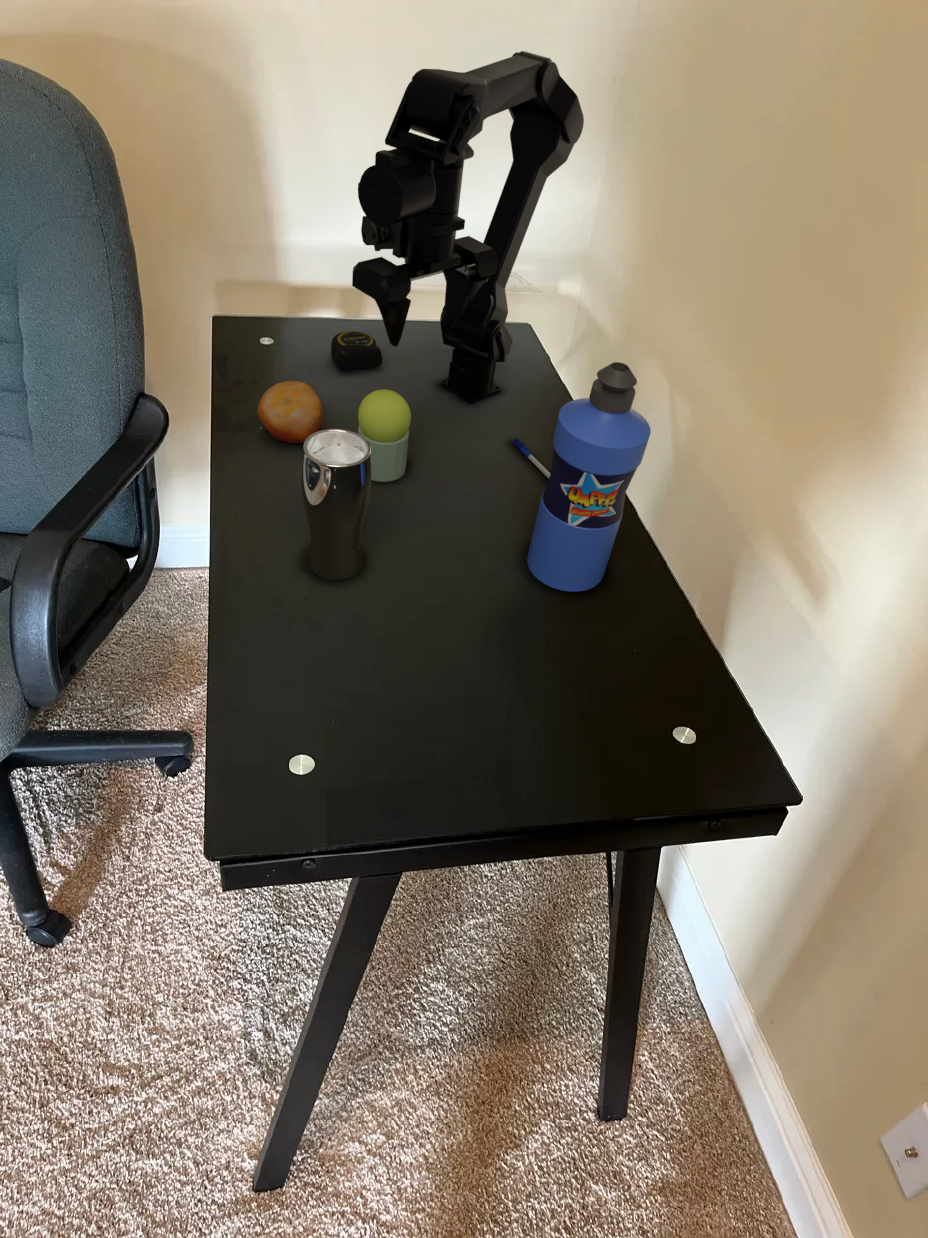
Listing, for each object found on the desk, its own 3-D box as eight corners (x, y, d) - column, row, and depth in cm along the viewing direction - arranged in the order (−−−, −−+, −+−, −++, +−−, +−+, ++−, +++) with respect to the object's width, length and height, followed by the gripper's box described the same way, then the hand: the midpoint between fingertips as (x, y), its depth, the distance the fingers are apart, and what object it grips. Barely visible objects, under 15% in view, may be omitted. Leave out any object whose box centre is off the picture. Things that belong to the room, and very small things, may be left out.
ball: (386, 420, 105) (388, 374, 101) (419, 443, 102) (424, 397, 98) (346, 435, 102) (347, 388, 97) (380, 459, 99) (382, 412, 94)
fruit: (333, 408, 111) (326, 376, 103) (321, 461, 109) (312, 433, 101) (274, 398, 111) (262, 365, 103) (260, 451, 109) (247, 421, 101)
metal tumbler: (315, 589, 88) (315, 472, 77) (294, 549, 92) (291, 433, 81) (376, 575, 90) (384, 460, 80) (353, 537, 95) (357, 422, 84)
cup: (384, 448, 108) (386, 411, 104) (415, 471, 105) (419, 433, 102) (346, 463, 105) (347, 426, 101) (378, 487, 102) (380, 449, 98)
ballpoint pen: (510, 443, 112) (511, 437, 112) (515, 442, 113) (517, 435, 112) (554, 486, 107) (555, 479, 106) (559, 484, 107) (561, 478, 106)
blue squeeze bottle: (525, 534, 99) (569, 337, 81) (602, 544, 99) (662, 350, 82) (525, 586, 92) (573, 384, 75) (607, 597, 93) (674, 398, 75)
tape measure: (336, 376, 120) (336, 352, 117) (326, 353, 124) (326, 329, 122) (382, 373, 122) (383, 350, 119) (370, 351, 126) (371, 328, 124)
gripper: (444, 171, 102) (432, 295, 113) (322, 192, 91) (322, 327, 102) (509, 202, 97) (490, 328, 108) (388, 228, 86) (380, 365, 97)
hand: (421, 336), depth 104 cm, fingers open, 9 cm apart
